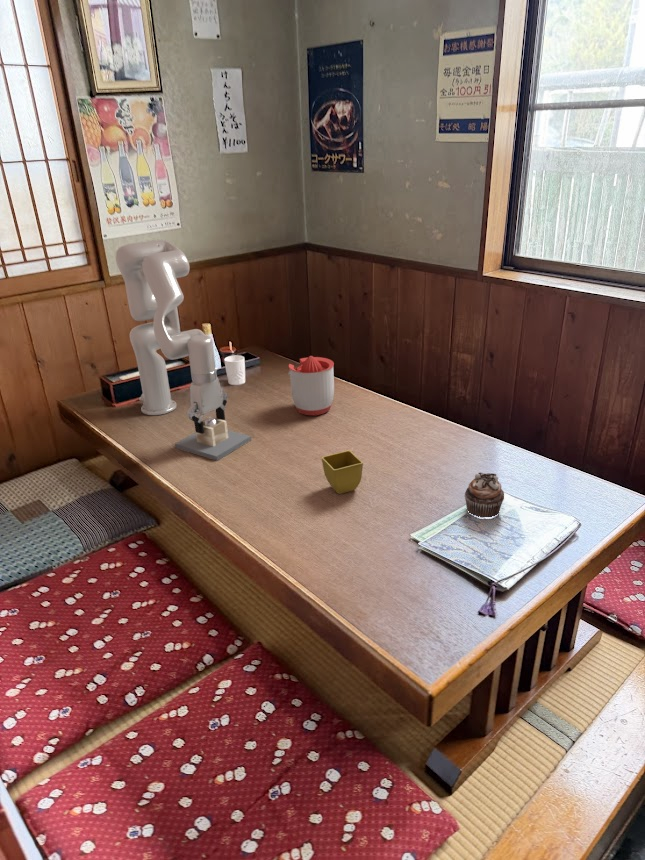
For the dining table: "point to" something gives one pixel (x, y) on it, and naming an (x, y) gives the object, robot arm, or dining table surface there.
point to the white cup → (235, 369)
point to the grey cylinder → (210, 422)
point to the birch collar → (213, 433)
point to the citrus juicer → (312, 385)
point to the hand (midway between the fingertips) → (210, 426)
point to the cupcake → (484, 495)
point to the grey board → (218, 450)
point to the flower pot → (343, 471)
